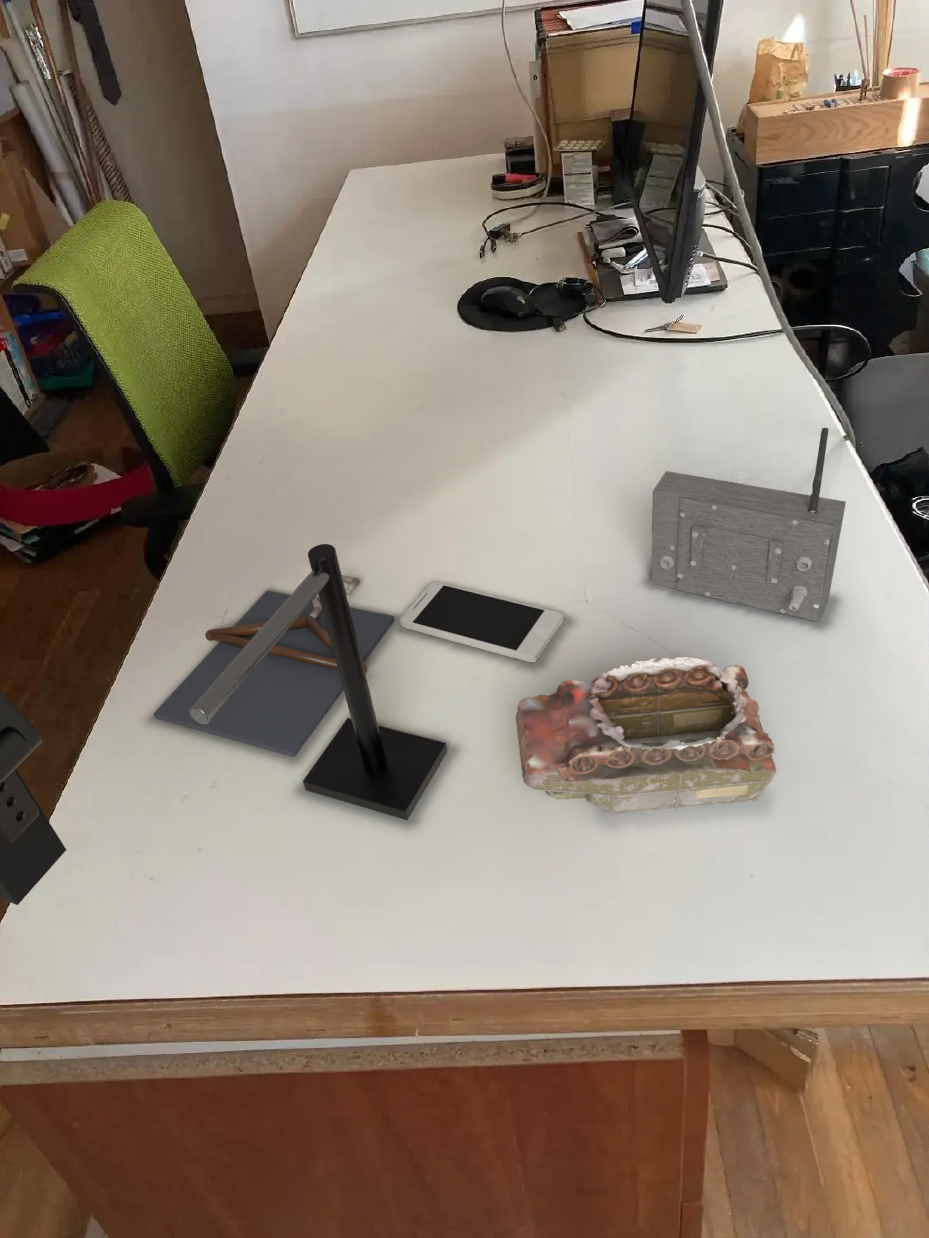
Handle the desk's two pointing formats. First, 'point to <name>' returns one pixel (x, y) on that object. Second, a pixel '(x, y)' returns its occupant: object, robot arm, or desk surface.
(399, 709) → the desk surface
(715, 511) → the electronic device
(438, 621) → the smartphone
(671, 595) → the desk surface
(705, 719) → the decorative box
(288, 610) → the rail stand
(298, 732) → the felt mat
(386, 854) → the desk surface
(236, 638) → the hanger
